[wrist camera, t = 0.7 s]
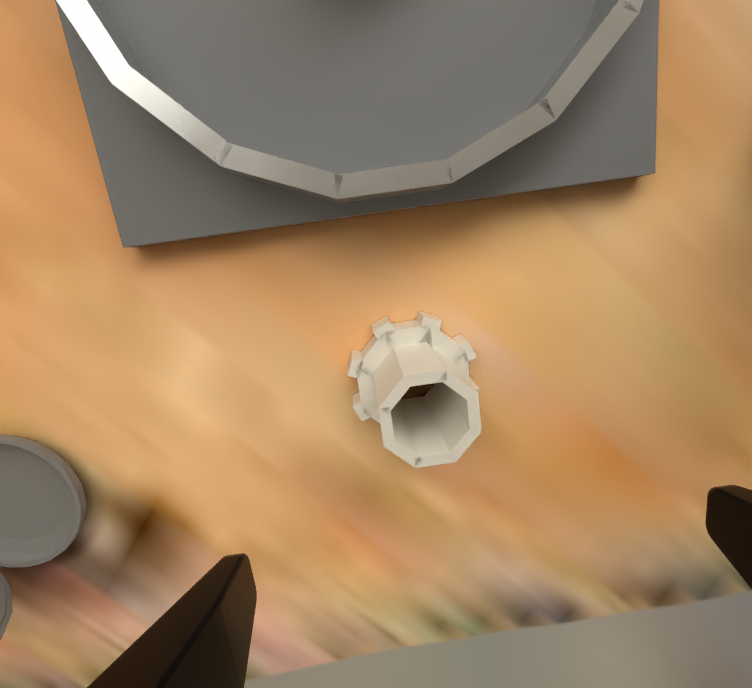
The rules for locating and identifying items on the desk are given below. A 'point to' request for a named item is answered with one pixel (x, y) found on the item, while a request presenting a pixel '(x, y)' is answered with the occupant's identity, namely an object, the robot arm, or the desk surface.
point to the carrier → (356, 103)
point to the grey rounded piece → (35, 509)
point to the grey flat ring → (127, 73)
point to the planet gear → (413, 368)
